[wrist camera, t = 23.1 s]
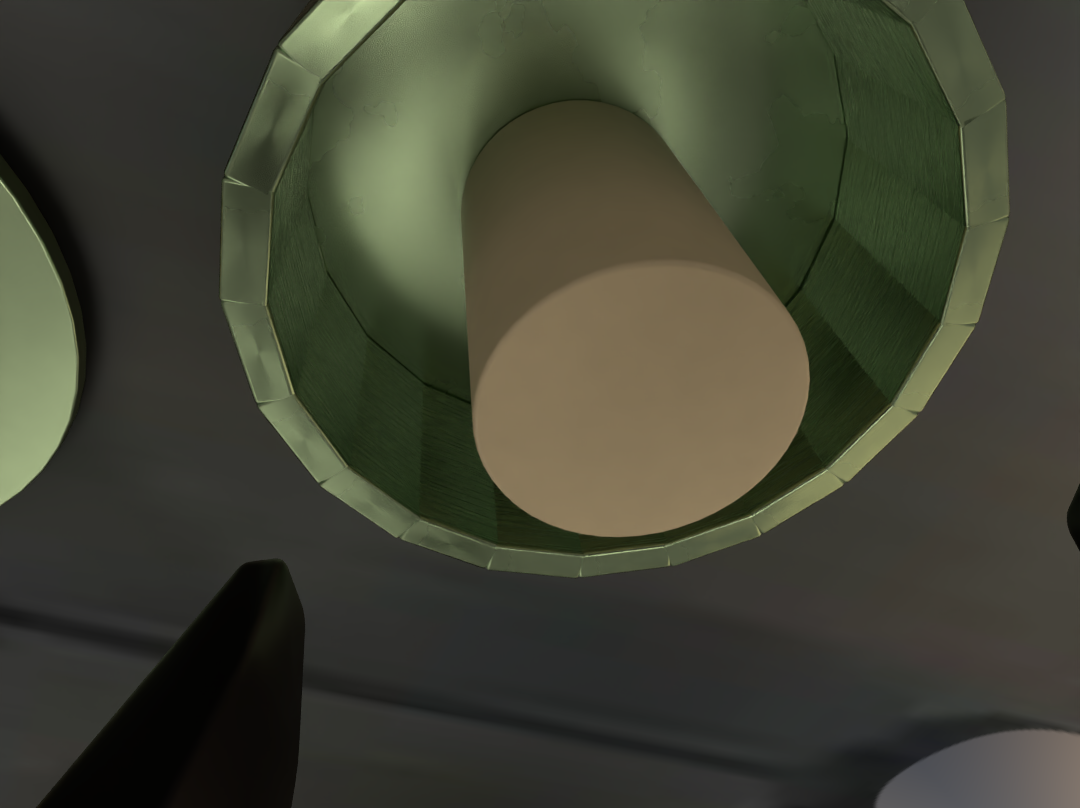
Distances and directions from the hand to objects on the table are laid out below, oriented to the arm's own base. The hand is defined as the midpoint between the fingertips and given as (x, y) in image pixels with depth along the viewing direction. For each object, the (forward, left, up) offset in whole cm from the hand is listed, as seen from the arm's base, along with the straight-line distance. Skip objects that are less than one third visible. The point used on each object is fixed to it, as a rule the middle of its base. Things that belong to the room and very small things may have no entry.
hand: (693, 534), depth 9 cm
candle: (0, 0, -9) cm, 9 cm away
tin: (0, 0, -10) cm, 10 cm away
